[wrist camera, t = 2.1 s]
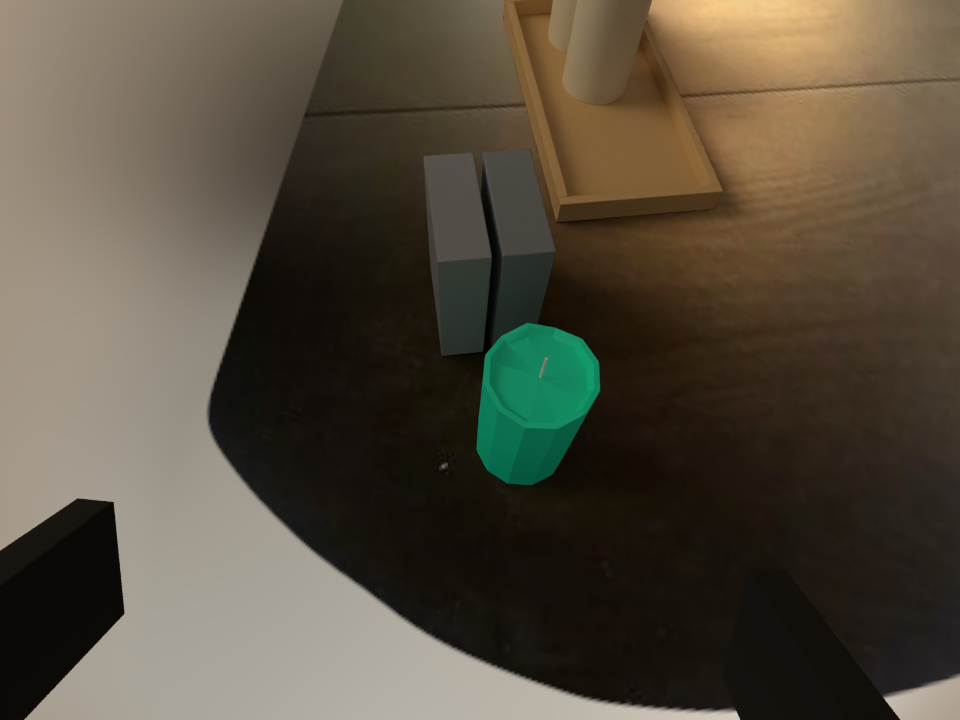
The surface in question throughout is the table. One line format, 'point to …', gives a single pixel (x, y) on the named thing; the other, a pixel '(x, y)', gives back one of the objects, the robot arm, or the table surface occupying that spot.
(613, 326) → the table surface
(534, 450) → the candle
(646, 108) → the tray
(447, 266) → the grey book
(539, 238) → the grey book
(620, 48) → the cream candle
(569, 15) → the cream candle
